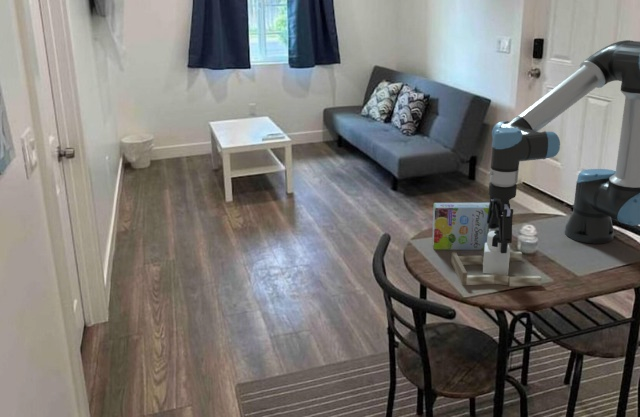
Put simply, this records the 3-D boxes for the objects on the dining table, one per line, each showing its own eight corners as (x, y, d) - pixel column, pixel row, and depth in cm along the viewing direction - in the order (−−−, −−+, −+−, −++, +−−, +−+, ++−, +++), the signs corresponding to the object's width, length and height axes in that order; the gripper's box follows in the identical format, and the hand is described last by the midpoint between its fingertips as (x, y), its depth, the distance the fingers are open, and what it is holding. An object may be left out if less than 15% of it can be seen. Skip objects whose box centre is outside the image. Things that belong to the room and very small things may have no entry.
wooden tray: (520, 258, 179) (521, 247, 178) (540, 285, 163) (542, 273, 161) (450, 261, 179) (450, 249, 178) (463, 288, 163) (464, 275, 162)
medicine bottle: (507, 265, 173) (511, 229, 169) (507, 276, 166) (511, 238, 162) (483, 263, 175) (486, 227, 170) (482, 273, 168) (485, 236, 164)
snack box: (495, 243, 190) (499, 201, 185) (498, 251, 185) (502, 207, 180) (431, 243, 193) (433, 201, 187) (433, 250, 187) (434, 207, 182)
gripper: (479, 172, 171) (474, 240, 179) (501, 195, 151) (494, 271, 159) (504, 171, 171) (498, 240, 179) (529, 194, 151) (521, 270, 159)
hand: (496, 254), depth 169 cm, fingers closed on medicine bottle, 8 cm apart
